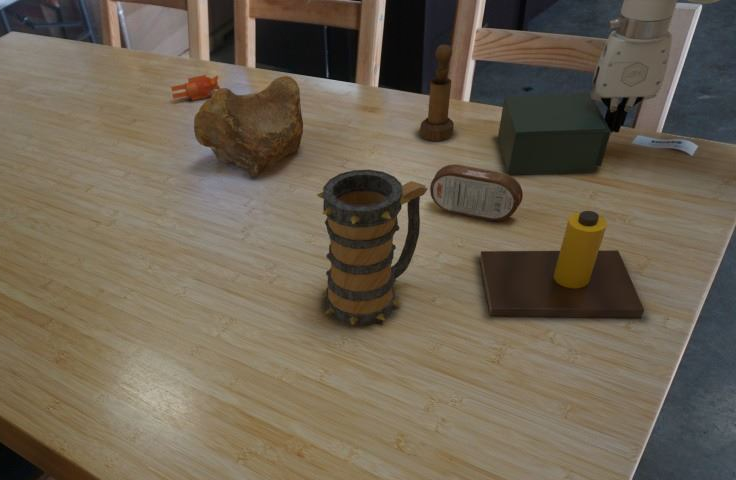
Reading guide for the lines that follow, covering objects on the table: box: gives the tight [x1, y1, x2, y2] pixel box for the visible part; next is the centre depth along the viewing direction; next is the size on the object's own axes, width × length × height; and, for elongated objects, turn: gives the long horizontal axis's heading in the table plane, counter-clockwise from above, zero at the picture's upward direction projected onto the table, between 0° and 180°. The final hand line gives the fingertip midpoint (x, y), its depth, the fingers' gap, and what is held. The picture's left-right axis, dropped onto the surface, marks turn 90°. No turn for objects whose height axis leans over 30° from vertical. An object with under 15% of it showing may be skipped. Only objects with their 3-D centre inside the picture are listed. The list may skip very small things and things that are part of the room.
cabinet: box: [497, 92, 606, 176], centre depth 125 cm, size 15×15×9 cm
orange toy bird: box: [170, 74, 221, 101], centre depth 166 cm, size 5×8×12 cm
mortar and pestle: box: [419, 43, 455, 142], centre depth 133 cm, size 7×6×18 cm
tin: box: [429, 163, 524, 222], centre depth 114 cm, size 15×3×8 cm, turn 58°
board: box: [479, 249, 645, 319], centre depth 100 cm, size 20×14×2 cm
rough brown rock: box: [193, 75, 304, 177], centre depth 135 cm, size 23×17×15 cm
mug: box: [315, 169, 429, 326], centre depth 97 cm, size 13×17×20 cm
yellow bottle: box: [554, 210, 608, 288], centre depth 96 cm, size 5×5×11 cm
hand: (611, 129), depth 123 cm, fingers closed
